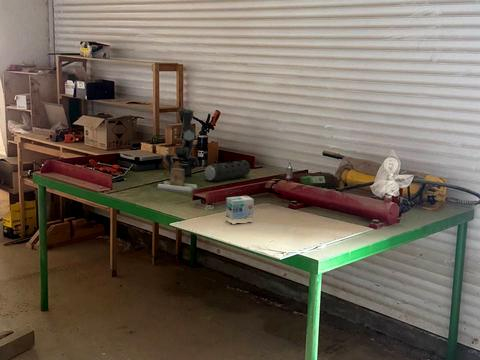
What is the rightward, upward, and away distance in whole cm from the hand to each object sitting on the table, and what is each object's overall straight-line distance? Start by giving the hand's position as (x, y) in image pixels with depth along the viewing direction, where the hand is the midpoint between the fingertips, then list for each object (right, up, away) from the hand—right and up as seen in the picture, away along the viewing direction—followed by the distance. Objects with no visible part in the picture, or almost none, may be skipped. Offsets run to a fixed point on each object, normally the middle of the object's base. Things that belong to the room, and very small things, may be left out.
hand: (177, 173), depth 310 cm
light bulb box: (+33, -22, -53) cm, 66 cm away
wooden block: (0, -7, +2) cm, 8 cm away
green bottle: (+70, -10, +7) cm, 71 cm away
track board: (0, -8, +2) cm, 9 cm away
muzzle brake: (+26, -3, +30) cm, 40 cm away
